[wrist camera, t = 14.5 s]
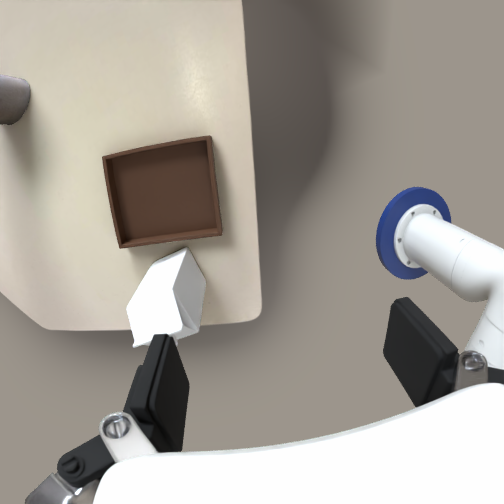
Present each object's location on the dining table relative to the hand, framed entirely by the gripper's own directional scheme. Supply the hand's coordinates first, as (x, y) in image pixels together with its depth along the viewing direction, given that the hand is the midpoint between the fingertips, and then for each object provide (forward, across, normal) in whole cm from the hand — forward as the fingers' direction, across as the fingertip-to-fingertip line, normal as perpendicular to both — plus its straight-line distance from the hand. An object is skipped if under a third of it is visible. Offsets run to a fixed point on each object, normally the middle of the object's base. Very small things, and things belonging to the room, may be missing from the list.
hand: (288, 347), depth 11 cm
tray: (+36, +13, -3) cm, 38 cm away
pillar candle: (+36, +43, -28) cm, 62 cm away
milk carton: (+36, +13, +11) cm, 40 cm away
